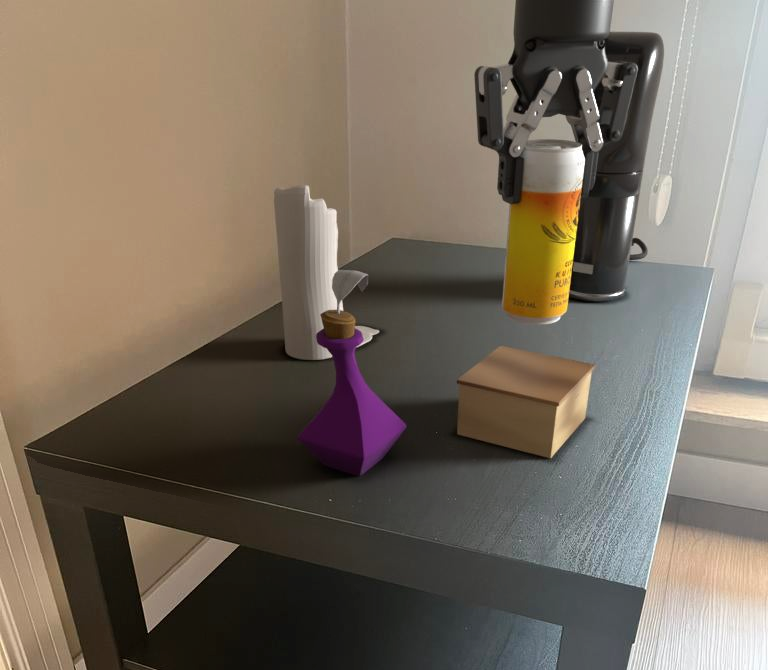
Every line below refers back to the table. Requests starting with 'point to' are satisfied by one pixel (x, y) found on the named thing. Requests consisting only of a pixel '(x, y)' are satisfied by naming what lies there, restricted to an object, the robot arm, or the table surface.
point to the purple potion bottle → (349, 396)
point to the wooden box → (523, 400)
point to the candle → (307, 269)
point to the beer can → (543, 232)
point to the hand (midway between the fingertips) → (544, 198)
